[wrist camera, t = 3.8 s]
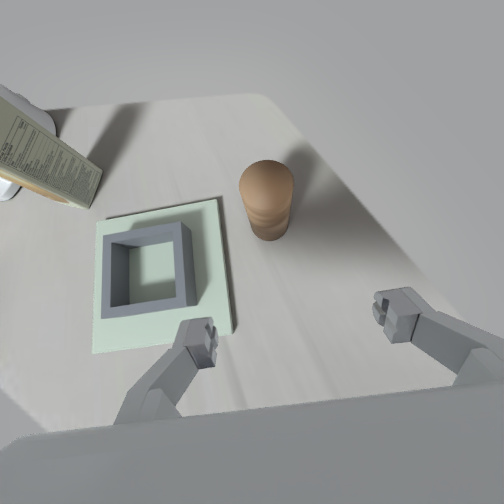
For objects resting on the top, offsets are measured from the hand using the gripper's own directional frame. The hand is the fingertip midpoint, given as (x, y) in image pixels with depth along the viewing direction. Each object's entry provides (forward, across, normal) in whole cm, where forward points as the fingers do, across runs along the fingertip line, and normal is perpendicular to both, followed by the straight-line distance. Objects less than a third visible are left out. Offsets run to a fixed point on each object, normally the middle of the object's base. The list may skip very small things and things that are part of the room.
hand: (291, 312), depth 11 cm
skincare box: (+24, +25, -4) cm, 35 cm away
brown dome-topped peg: (+17, 0, +2) cm, 17 cm away
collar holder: (+14, +14, +5) cm, 20 cm away
